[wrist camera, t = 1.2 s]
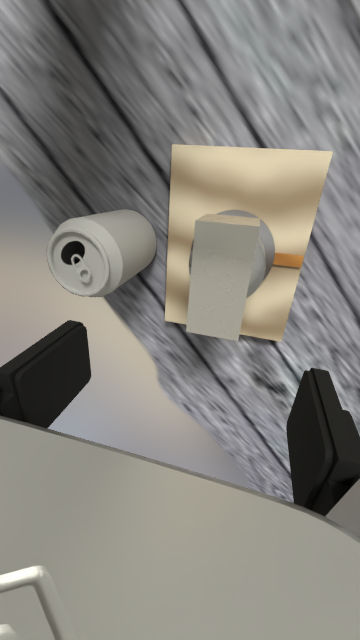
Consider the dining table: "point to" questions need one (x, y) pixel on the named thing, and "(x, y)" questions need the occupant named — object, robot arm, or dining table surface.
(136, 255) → the can
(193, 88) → the dining table surface
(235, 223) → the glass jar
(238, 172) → the base plate
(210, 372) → the dining table surface
